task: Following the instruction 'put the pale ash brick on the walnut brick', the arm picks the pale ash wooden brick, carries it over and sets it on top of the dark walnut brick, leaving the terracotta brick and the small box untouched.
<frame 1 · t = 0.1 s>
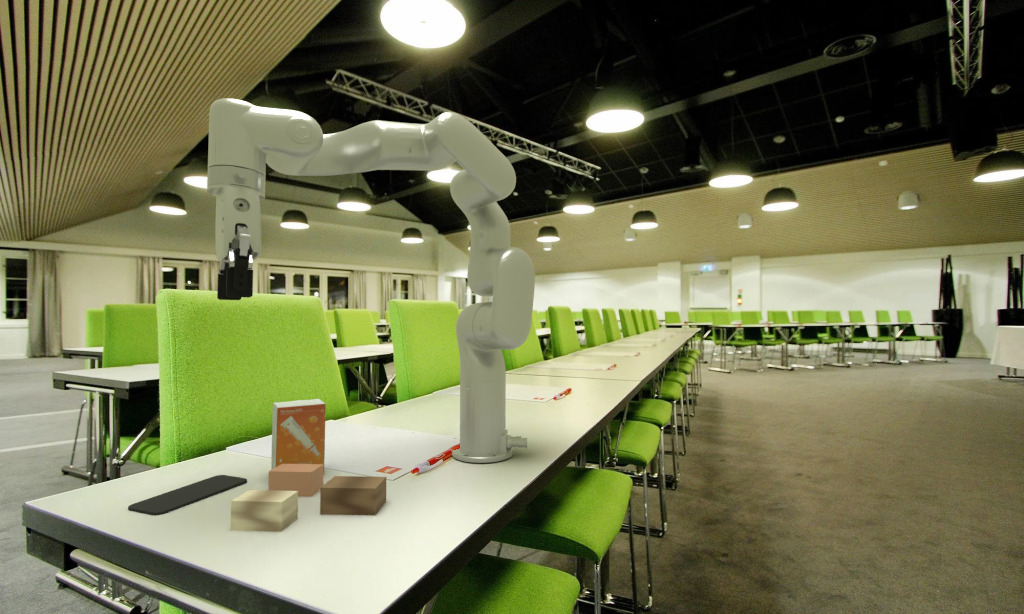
hand: (234, 298, 68), 31 cm above the table, tool pointing down, fingers open, 9 cm apart
small box: (297, 476, 82), on the table
ash brick: (264, 525, 62), on the table
terracotta brick: (296, 492, 74), on the table
phone: (192, 498, 73), on the table
walnut brick: (354, 509, 68), on the table
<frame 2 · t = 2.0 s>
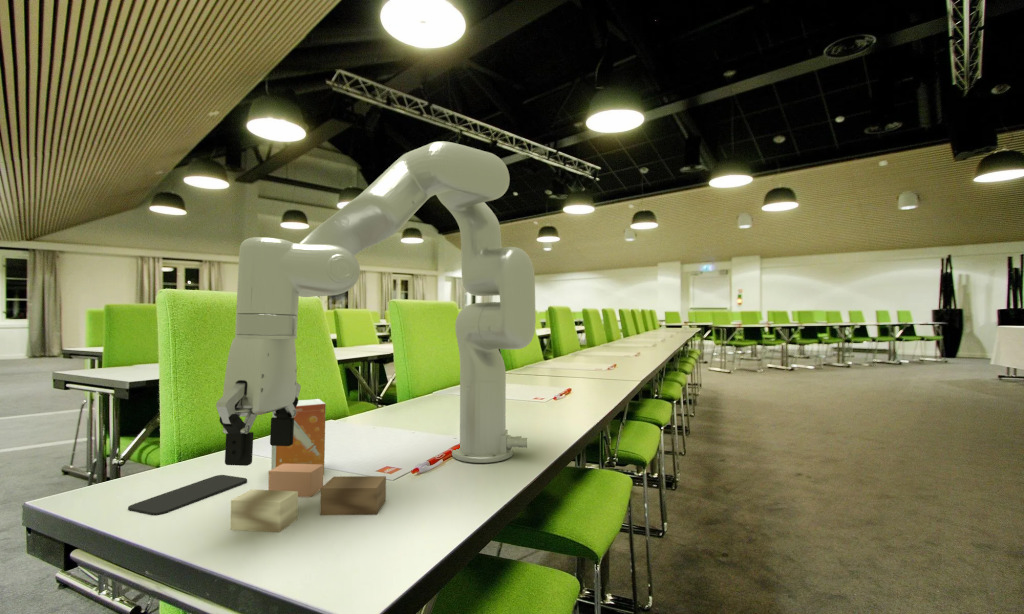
hand: (261, 454, 62), 10 cm above the table, tool pointing down, fingers open, 9 cm apart
nothing on the table moved.
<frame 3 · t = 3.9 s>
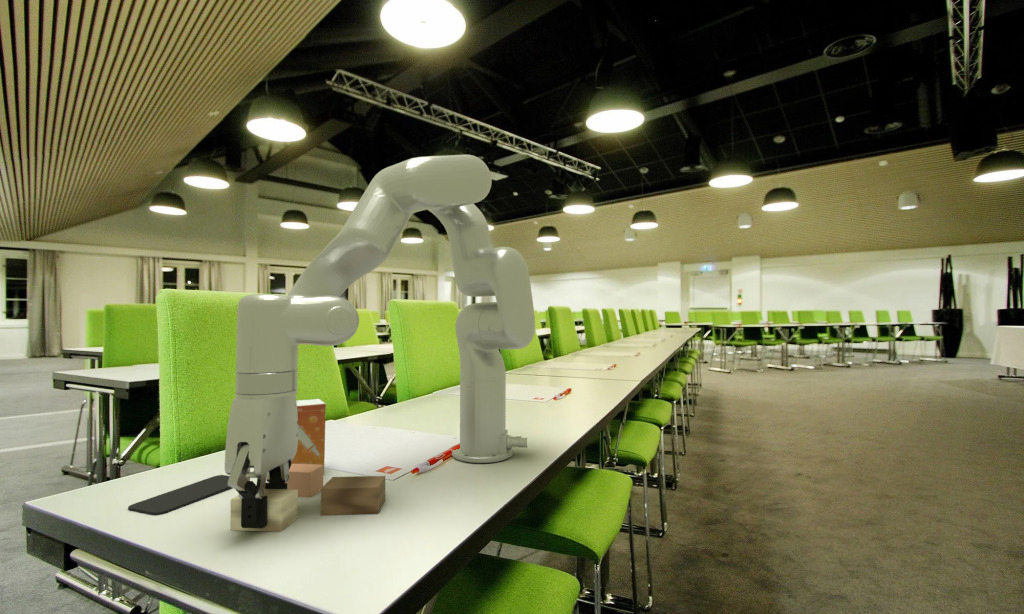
hand: (264, 517, 62), 1 cm above the table, tool pointing down, fingers closed on ash brick, 4 cm apart
ash brick: (264, 524, 62), on the table, touching gripper
everything else where it was.
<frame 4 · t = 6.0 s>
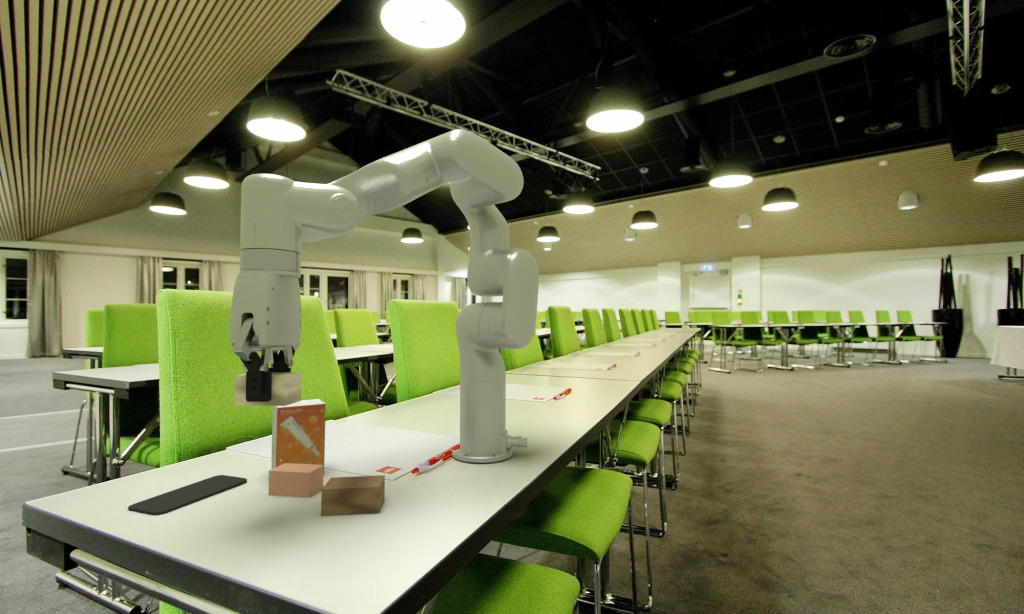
hand: (269, 397, 63), 17 cm above the table, tool pointing down, fingers closed on ash brick, 4 cm apart
ash brick: (268, 403, 63), point 16 cm above the table, touching gripper
everything else where it was.
when the fingers open (6 cm above the table, at t = 8.5 s): ash brick drops 1 cm, resting on walnut brick.
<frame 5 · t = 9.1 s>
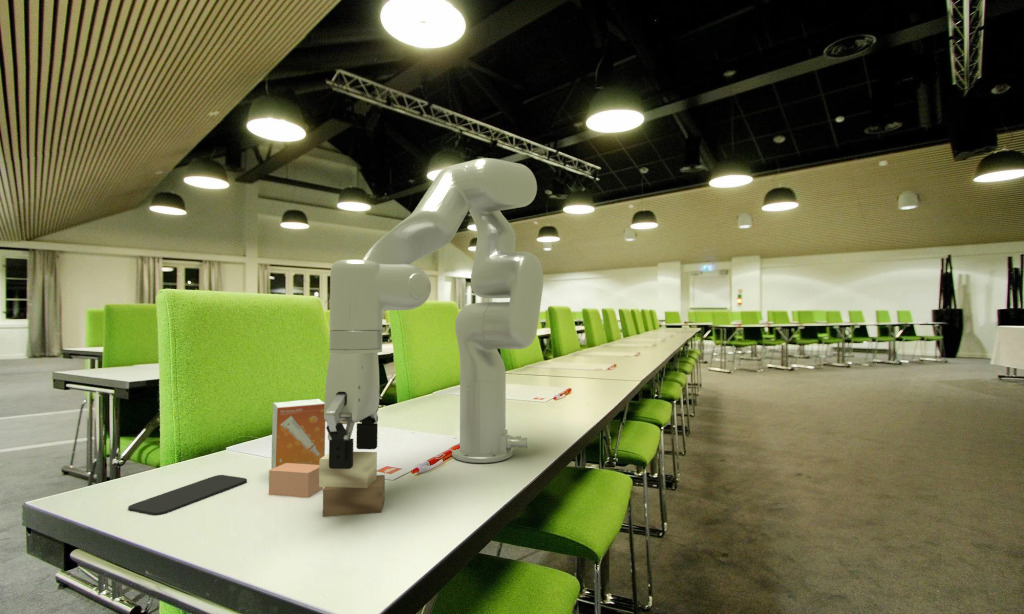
hand: (354, 457, 68), 7 cm above the table, tool pointing down, fingers open, 9 cm apart
ash brick: (348, 482, 67), point 4 cm above the table, touching walnut brick
walnut brick: (355, 509, 68), on the table, touching ash brick
everything else where it was.
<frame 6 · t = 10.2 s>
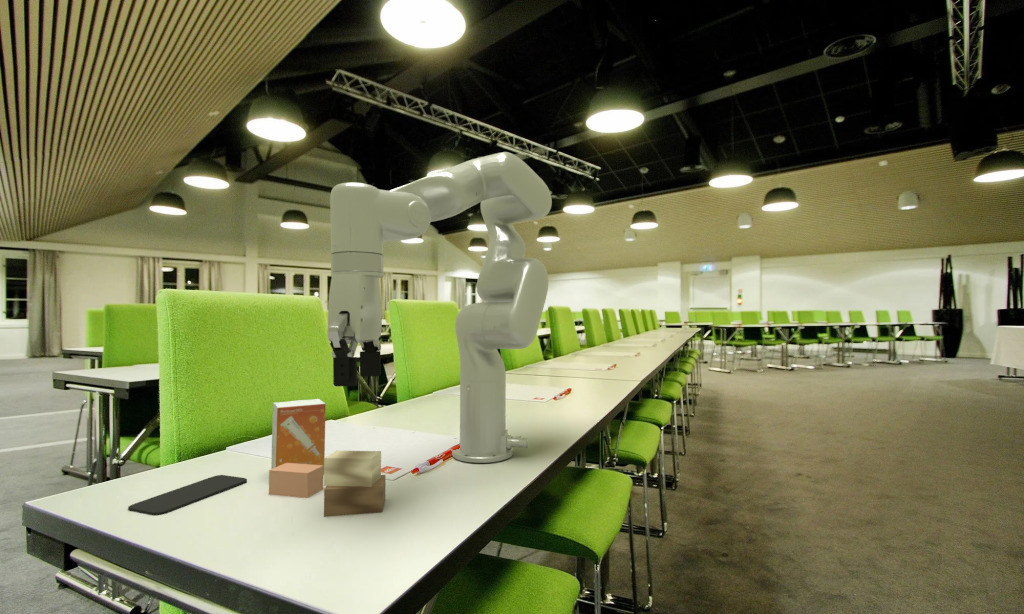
hand: (358, 380, 69), 19 cm above the table, tool pointing down, fingers open, 9 cm apart
nothing on the table moved.
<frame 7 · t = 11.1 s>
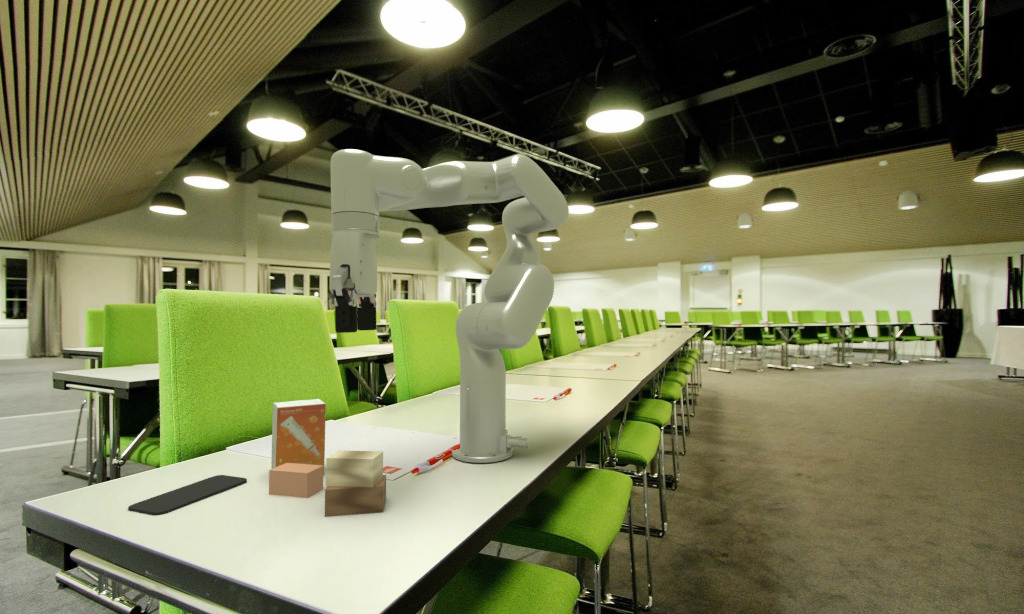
hand: (357, 331, 75), 26 cm above the table, tool pointing down, fingers open, 9 cm apart
nothing on the table moved.
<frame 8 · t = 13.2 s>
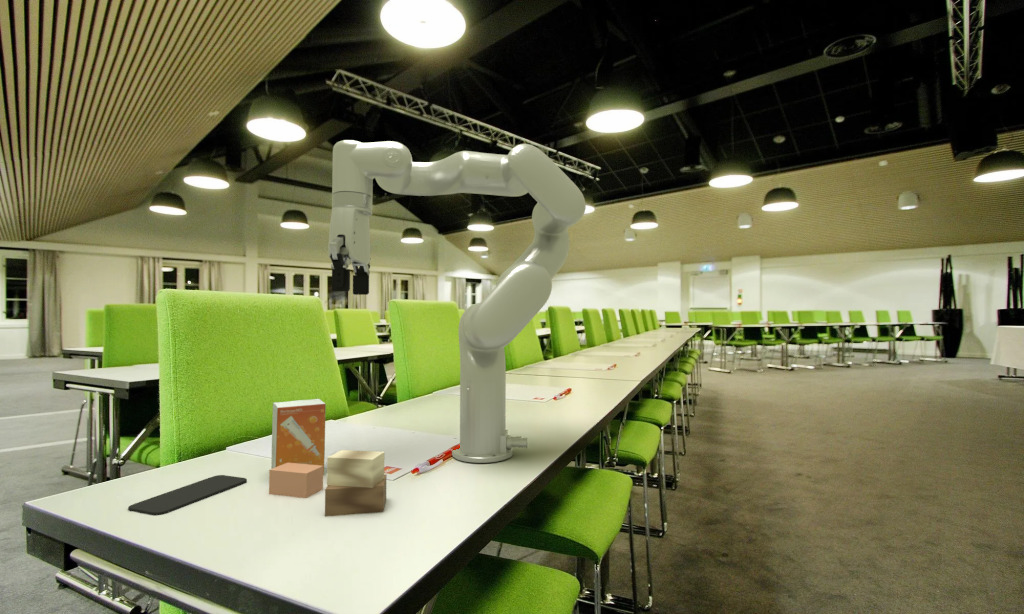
hand: (351, 292, 89), 33 cm above the table, tool pointing down, fingers open, 9 cm apart
at the end: ash brick 0.1 cm off-centre on the walnut brick, point 4.0 cm above the walnut brick's base; terracotta brick moved 0.2 cm from its start; walnut brick moved 0.5 cm from its start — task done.
